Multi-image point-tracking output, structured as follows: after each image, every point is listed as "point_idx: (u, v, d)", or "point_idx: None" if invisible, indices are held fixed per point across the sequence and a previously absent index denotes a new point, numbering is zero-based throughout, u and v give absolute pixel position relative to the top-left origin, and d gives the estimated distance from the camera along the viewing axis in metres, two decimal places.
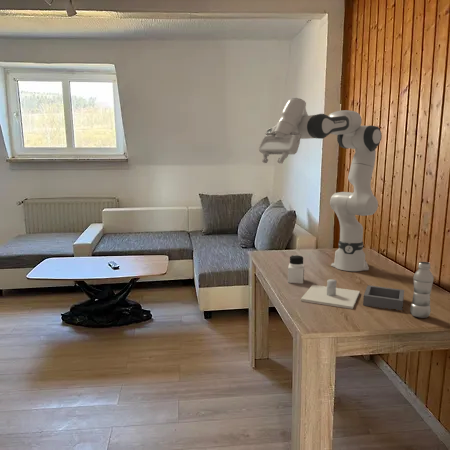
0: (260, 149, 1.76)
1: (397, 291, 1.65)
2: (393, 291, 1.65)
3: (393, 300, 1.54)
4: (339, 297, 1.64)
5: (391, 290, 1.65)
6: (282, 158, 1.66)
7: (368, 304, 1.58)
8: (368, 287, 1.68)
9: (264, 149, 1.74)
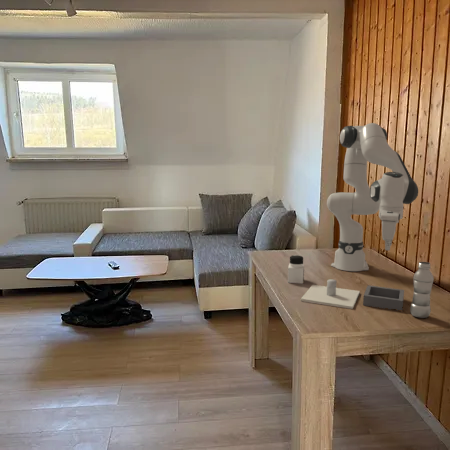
0: (392, 238, 1.55)
1: (397, 291, 1.65)
2: (393, 291, 1.65)
3: (393, 300, 1.54)
4: (339, 297, 1.64)
5: (391, 290, 1.65)
6: None
7: (368, 304, 1.58)
8: (368, 287, 1.68)
9: None
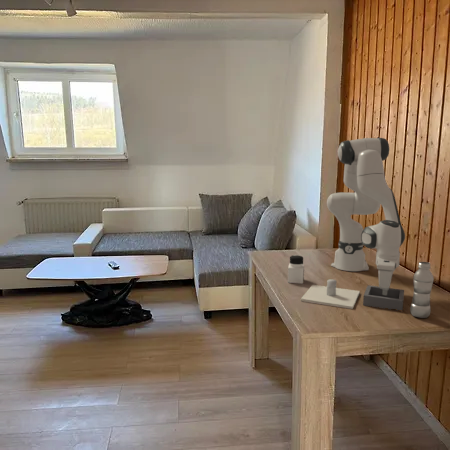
0: (389, 287, 1.58)
1: (397, 291, 1.65)
2: (393, 291, 1.65)
3: (393, 300, 1.54)
4: (339, 297, 1.64)
5: (391, 290, 1.65)
6: None
7: (368, 304, 1.58)
8: (368, 287, 1.68)
9: None
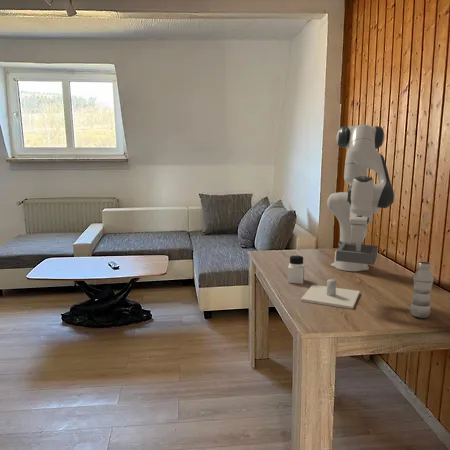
0: (361, 242, 1.59)
1: (370, 247, 1.65)
2: (366, 248, 1.66)
3: (365, 254, 1.54)
4: (339, 297, 1.64)
5: (365, 246, 1.66)
6: None
7: (341, 259, 1.58)
8: (342, 244, 1.68)
9: (362, 240, 1.61)
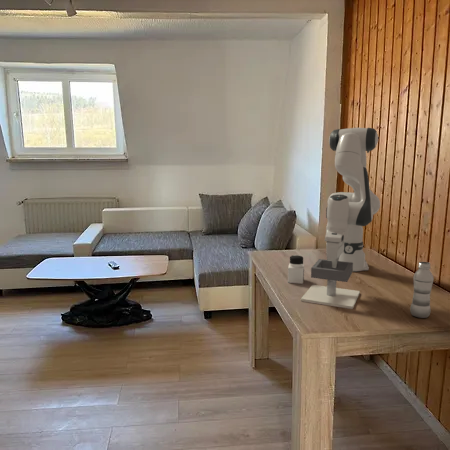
0: (336, 259, 1.62)
1: (346, 264, 1.69)
2: (342, 264, 1.69)
3: (339, 272, 1.58)
4: (339, 297, 1.64)
5: (340, 263, 1.69)
6: None
7: (316, 276, 1.62)
8: (319, 260, 1.72)
9: (337, 257, 1.65)
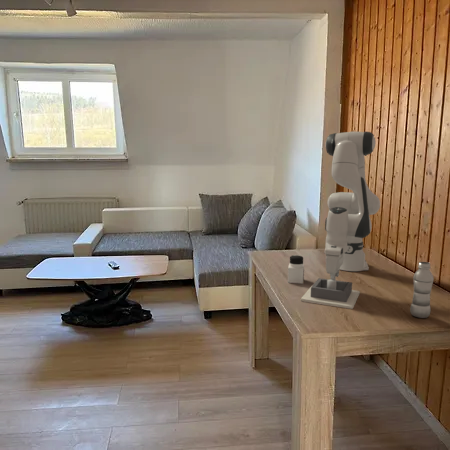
0: (335, 272, 1.63)
1: (345, 283, 1.71)
2: (341, 284, 1.71)
3: (338, 292, 1.60)
4: None
5: (340, 283, 1.72)
6: None
7: (315, 296, 1.64)
8: (318, 280, 1.74)
9: (336, 270, 1.66)
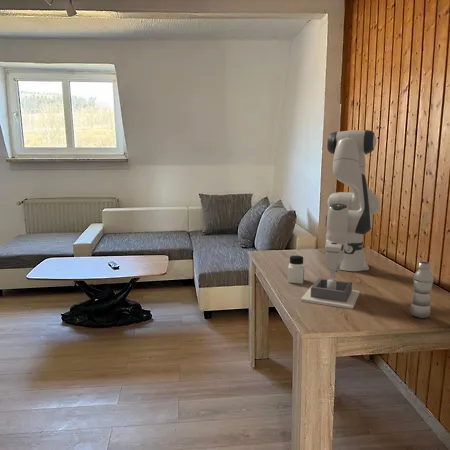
0: (336, 268, 1.63)
1: (345, 283, 1.71)
2: (341, 284, 1.71)
3: (338, 292, 1.60)
4: None
5: (340, 283, 1.72)
6: None
7: (315, 296, 1.64)
8: (318, 280, 1.74)
9: (337, 267, 1.66)
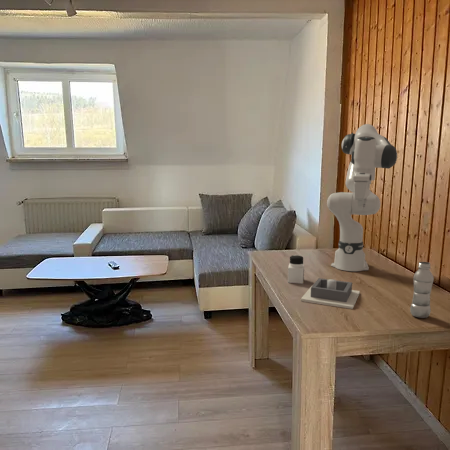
0: (364, 198, 1.65)
1: (345, 283, 1.71)
2: (341, 284, 1.71)
3: (338, 292, 1.60)
4: None
5: (340, 283, 1.72)
6: None
7: (315, 296, 1.64)
8: (318, 280, 1.74)
9: (365, 197, 1.67)
